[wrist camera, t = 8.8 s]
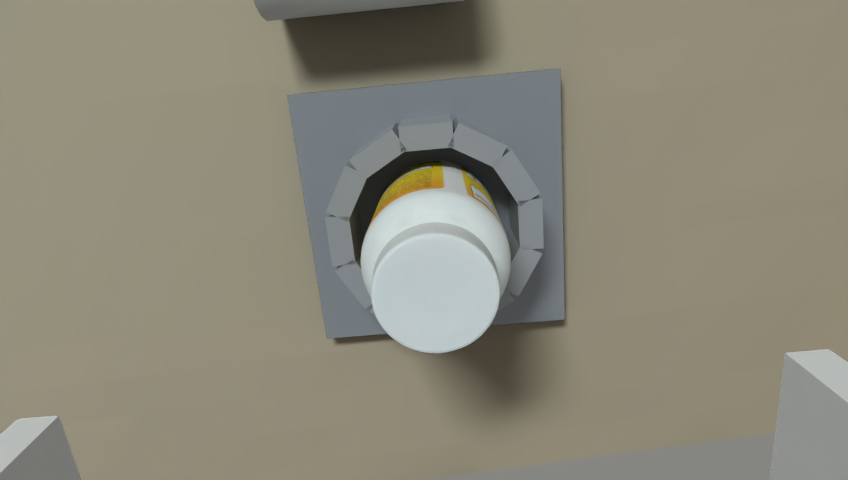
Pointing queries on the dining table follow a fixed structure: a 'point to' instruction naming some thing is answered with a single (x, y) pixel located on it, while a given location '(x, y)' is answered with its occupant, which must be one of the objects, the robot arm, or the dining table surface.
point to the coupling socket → (434, 140)
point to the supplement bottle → (435, 257)
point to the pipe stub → (329, 7)
